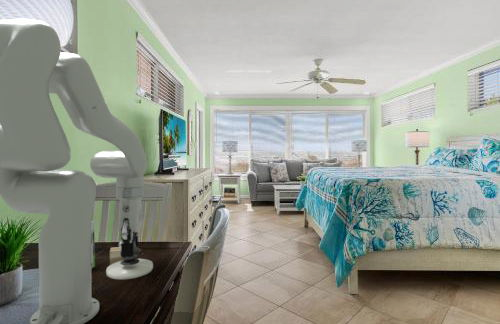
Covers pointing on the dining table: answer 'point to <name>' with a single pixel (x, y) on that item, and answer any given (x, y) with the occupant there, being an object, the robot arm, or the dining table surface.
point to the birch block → (115, 255)
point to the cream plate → (129, 269)
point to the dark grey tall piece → (132, 259)
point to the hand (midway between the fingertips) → (129, 251)
